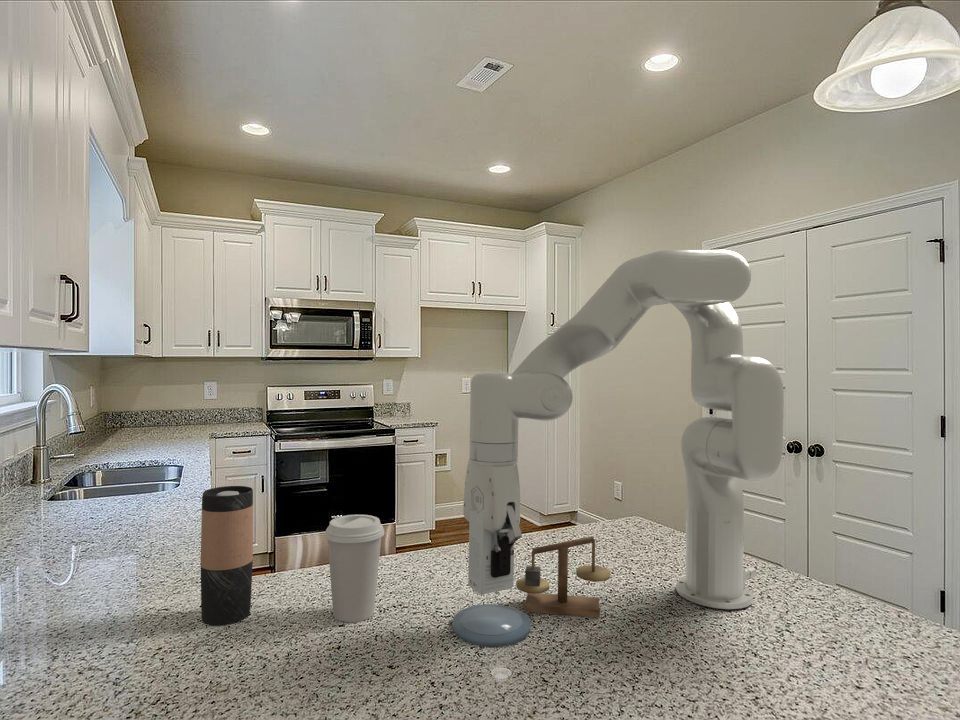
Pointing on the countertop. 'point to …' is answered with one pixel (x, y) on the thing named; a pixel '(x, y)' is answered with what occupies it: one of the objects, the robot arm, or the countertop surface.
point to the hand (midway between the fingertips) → (491, 569)
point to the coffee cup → (354, 565)
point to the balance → (561, 584)
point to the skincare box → (484, 559)
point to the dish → (491, 625)
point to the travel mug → (226, 554)
